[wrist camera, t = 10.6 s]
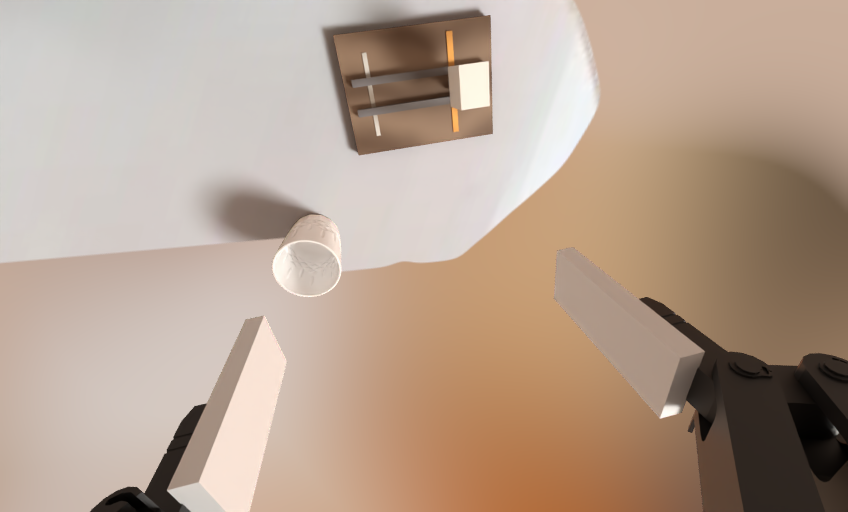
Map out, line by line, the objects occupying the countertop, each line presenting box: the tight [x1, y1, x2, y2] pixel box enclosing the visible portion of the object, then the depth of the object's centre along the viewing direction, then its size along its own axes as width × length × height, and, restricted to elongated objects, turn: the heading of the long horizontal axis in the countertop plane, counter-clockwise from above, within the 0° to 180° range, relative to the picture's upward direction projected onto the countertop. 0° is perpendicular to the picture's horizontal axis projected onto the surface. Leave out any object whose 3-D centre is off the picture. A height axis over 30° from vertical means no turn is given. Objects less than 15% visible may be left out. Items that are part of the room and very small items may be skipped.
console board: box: [333, 15, 493, 155], centre depth 41 cm, size 13×18×2 cm
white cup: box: [272, 214, 341, 297], centre depth 44 cm, size 8×8×10 cm
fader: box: [448, 61, 490, 110], centre depth 37 cm, size 4×3×8 cm
